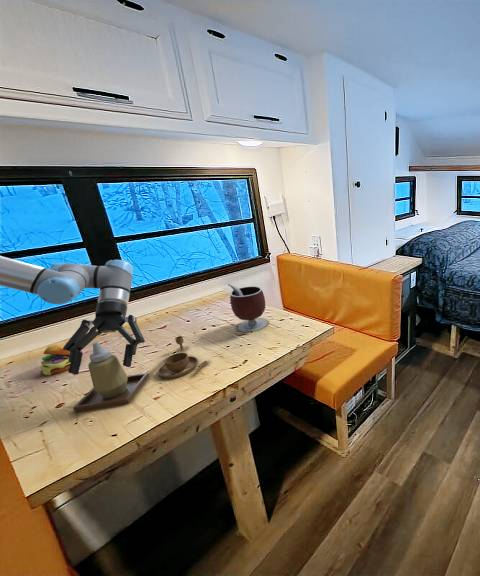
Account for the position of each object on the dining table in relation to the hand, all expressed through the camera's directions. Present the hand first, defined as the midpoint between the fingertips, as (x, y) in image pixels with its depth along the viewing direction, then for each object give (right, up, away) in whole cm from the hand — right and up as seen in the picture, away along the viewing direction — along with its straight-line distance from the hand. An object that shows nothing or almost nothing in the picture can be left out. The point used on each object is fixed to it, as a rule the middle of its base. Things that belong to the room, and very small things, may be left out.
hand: (100, 369), depth 91 cm
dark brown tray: (0, -9, +5) cm, 10 cm away
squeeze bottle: (0, -9, +5) cm, 10 cm away
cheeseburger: (-32, -5, +20) cm, 38 cm away
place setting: (+12, -3, +21) cm, 24 cm away
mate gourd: (+24, +7, +48) cm, 54 cm away
